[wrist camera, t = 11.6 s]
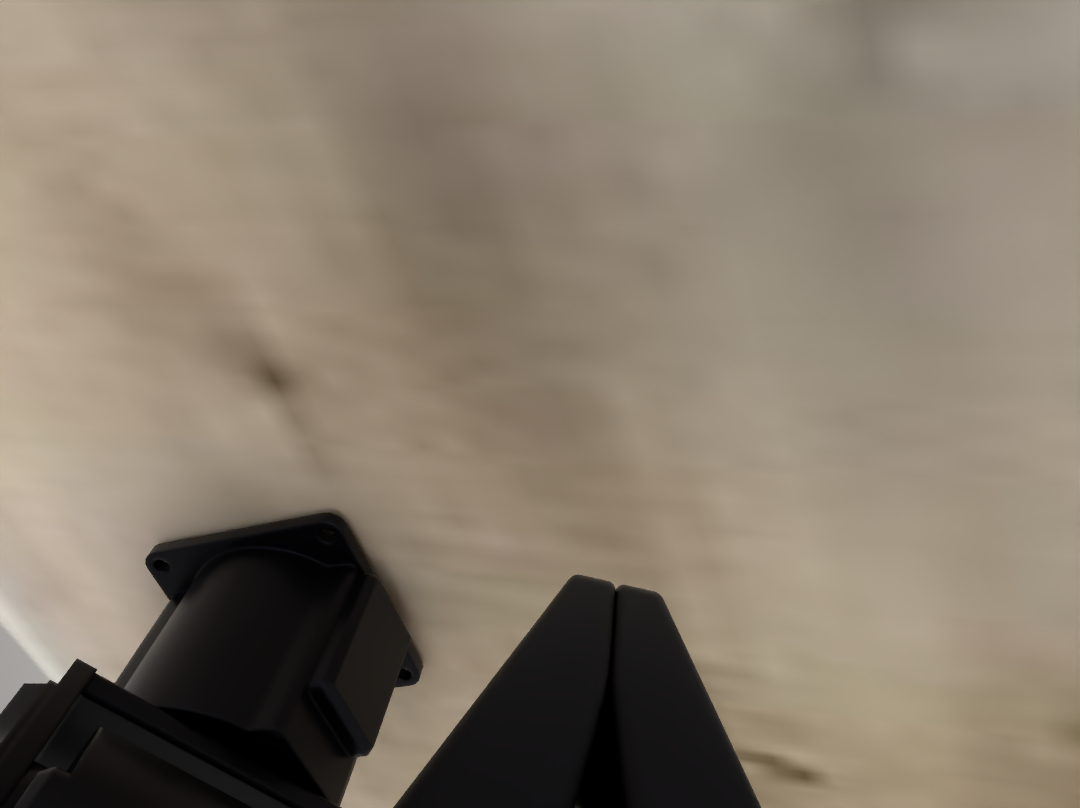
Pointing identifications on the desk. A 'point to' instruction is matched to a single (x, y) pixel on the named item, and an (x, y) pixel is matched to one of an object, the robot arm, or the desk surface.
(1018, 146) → the desk surface
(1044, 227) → the desk surface
